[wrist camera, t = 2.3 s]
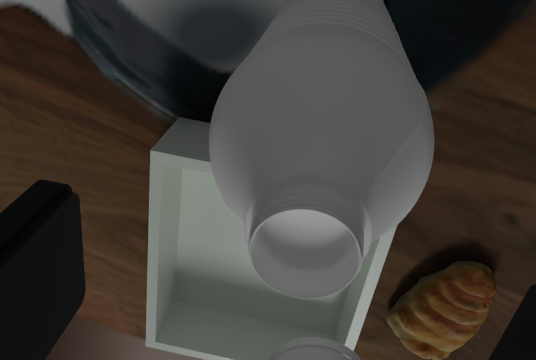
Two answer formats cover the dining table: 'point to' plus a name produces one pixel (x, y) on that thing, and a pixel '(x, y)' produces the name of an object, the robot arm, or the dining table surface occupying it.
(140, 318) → the dining table surface
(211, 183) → the bin
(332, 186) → the water bottle
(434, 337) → the pastry
